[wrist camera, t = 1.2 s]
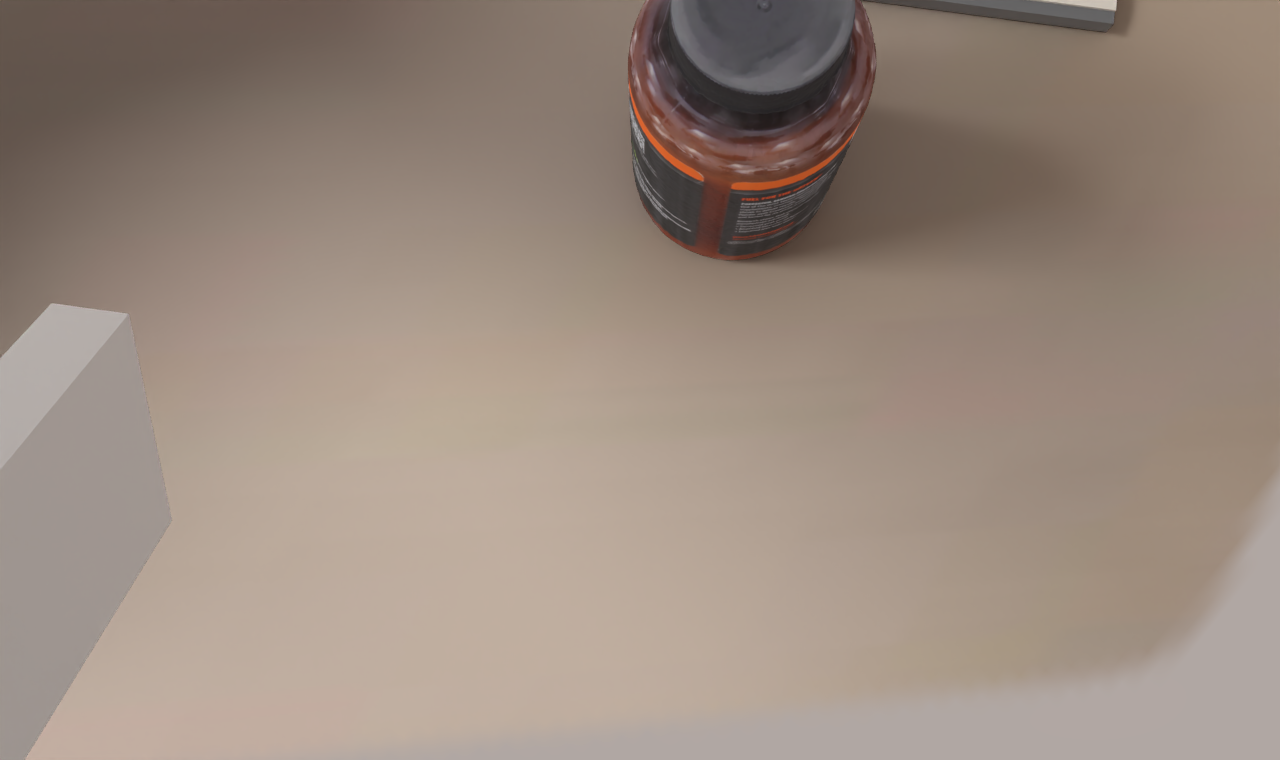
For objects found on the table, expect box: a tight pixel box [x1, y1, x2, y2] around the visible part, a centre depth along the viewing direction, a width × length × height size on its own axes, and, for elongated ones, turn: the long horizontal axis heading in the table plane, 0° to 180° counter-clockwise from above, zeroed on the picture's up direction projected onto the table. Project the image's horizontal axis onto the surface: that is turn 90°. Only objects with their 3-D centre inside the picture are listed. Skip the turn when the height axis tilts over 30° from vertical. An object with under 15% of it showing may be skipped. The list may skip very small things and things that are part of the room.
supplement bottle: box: [628, 0, 876, 260], centre depth 31 cm, size 6×6×11 cm
